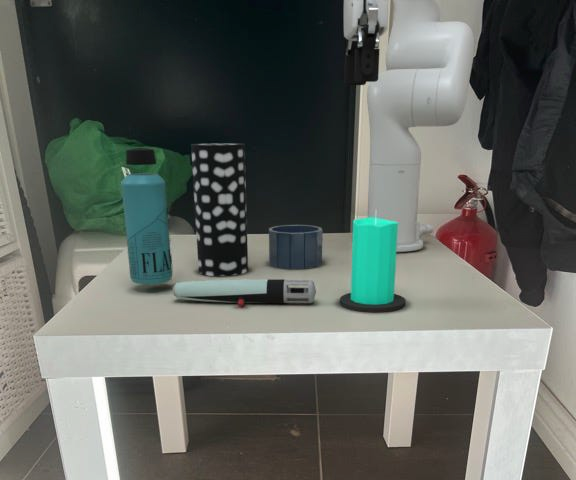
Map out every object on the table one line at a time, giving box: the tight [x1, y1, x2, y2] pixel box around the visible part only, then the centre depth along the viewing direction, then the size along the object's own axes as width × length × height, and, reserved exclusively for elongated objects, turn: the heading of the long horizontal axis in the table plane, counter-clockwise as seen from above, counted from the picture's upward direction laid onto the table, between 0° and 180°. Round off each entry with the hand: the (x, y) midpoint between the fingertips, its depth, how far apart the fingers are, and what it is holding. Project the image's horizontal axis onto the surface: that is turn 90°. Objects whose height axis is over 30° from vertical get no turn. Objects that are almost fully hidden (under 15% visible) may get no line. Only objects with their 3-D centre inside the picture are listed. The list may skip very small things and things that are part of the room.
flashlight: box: [172, 278, 317, 308], centre depth 89 cm, size 3×4×20 cm
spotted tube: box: [190, 142, 249, 277], centre depth 104 cm, size 8×8×20 cm
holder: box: [268, 224, 323, 270], centre depth 112 cm, size 9×9×6 cm
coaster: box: [339, 292, 407, 313], centre depth 89 cm, size 9×9×1 cm
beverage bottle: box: [120, 147, 174, 285], centre depth 93 cm, size 6×7×20 cm
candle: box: [350, 209, 398, 305], centre depth 86 cm, size 6×6×12 cm
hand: (360, 83), depth 93 cm, fingers open, 9 cm apart
